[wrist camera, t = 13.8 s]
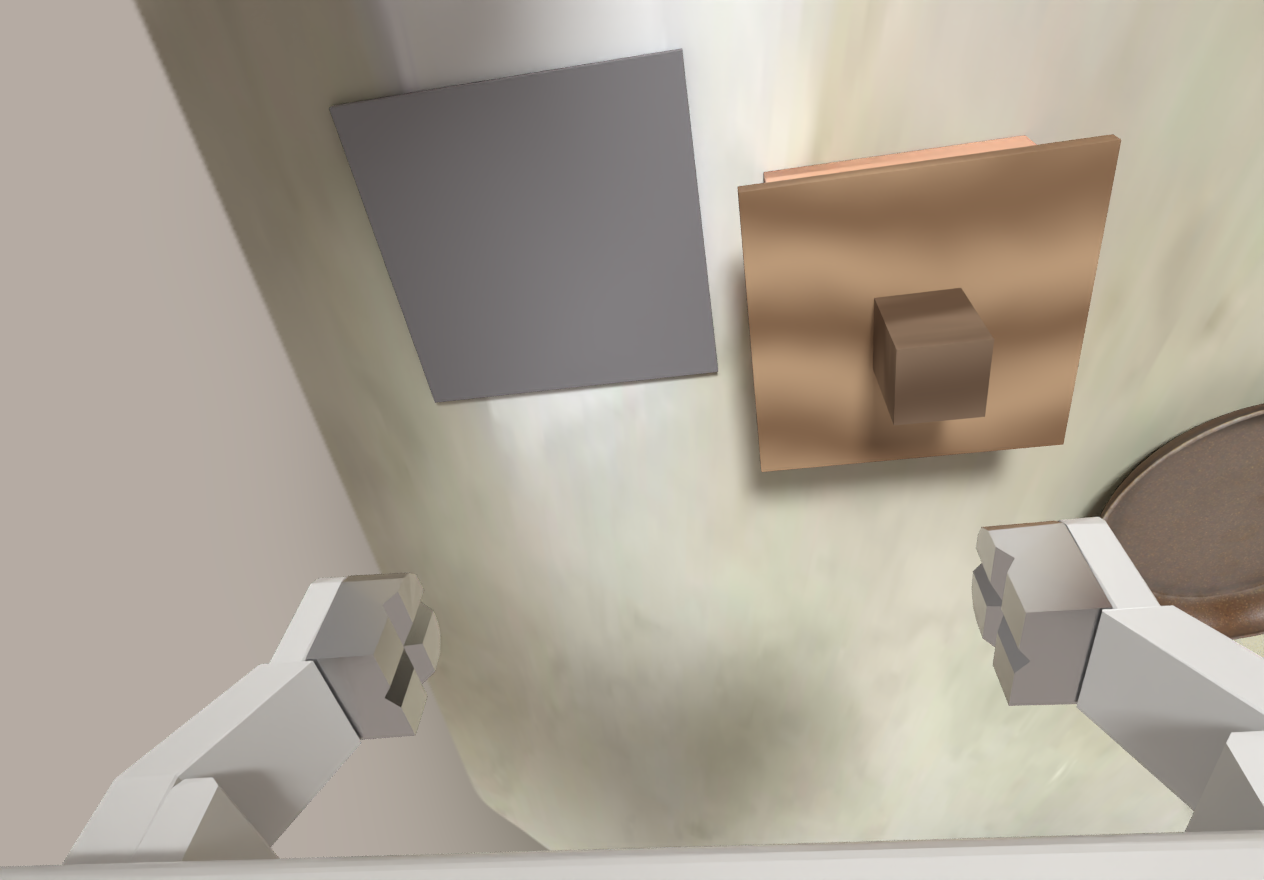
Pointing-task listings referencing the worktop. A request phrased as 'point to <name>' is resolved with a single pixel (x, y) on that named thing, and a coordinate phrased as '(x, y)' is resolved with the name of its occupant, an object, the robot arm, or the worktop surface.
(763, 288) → the walnut cover
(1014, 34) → the worktop surface
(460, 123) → the rubber mat
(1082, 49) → the worktop surface
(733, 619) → the worktop surface
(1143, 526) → the plant saucer
